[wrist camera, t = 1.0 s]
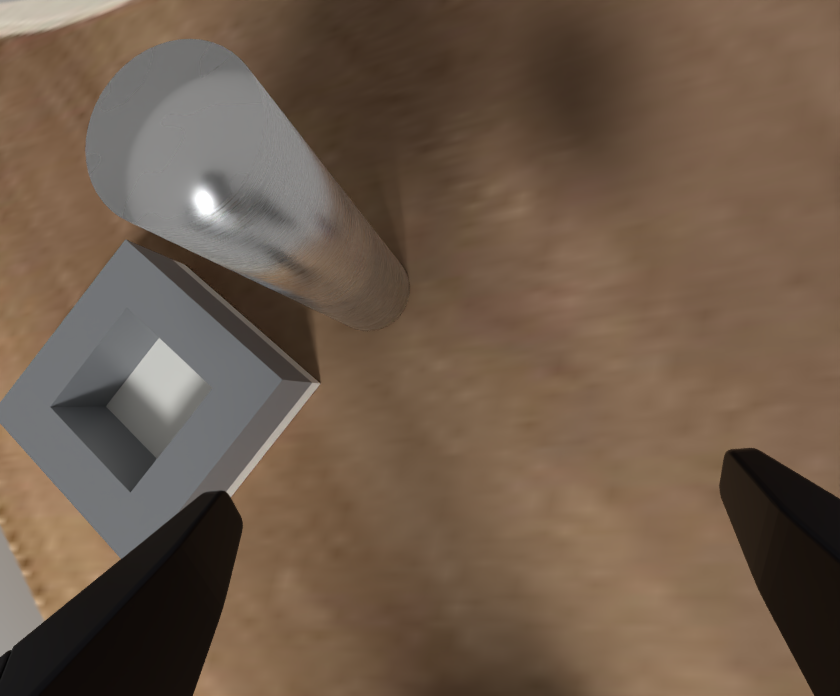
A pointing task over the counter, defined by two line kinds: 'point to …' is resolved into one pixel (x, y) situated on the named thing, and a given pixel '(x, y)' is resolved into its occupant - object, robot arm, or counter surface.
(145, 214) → the steel pin
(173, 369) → the socket block
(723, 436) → the counter surface
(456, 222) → the counter surface
